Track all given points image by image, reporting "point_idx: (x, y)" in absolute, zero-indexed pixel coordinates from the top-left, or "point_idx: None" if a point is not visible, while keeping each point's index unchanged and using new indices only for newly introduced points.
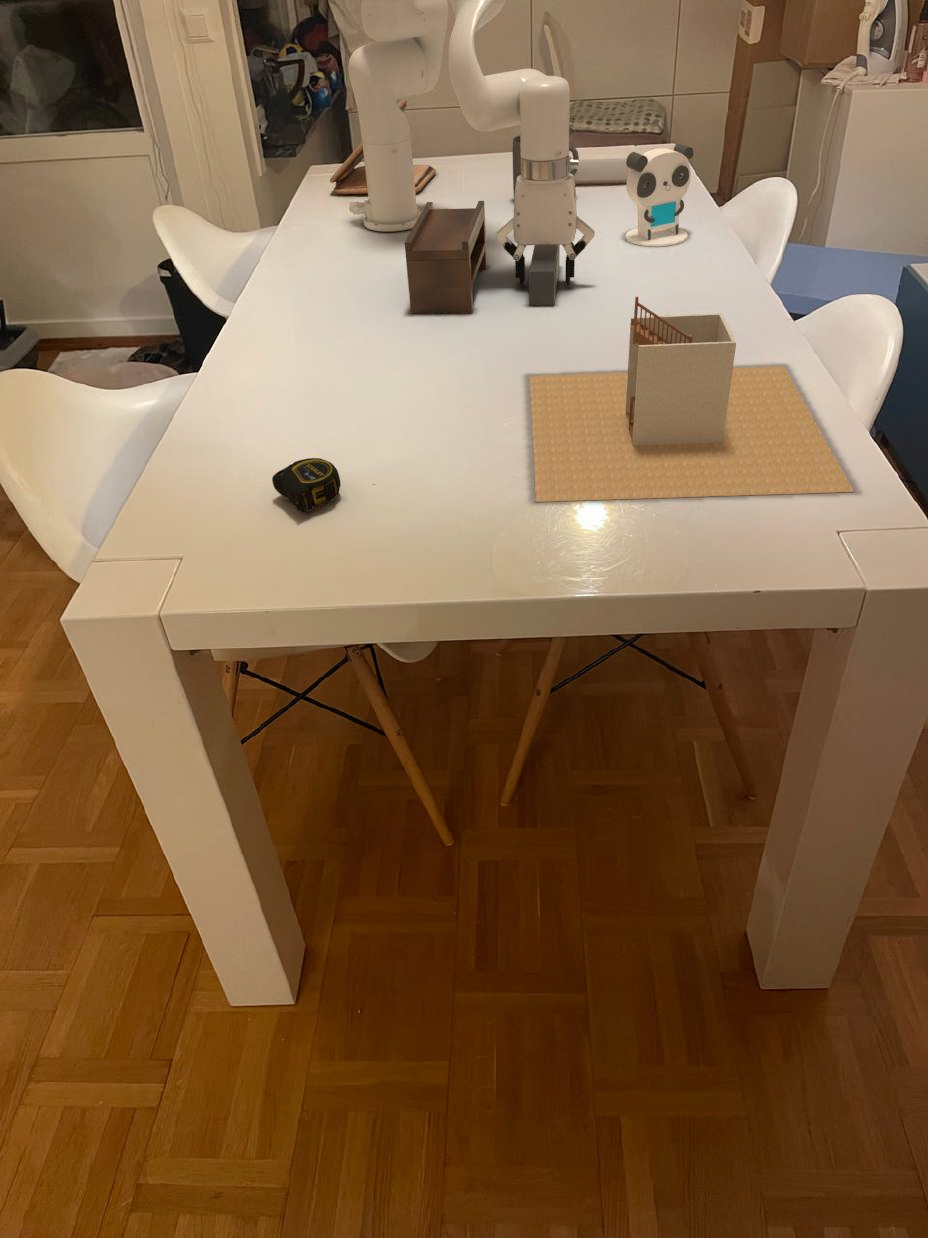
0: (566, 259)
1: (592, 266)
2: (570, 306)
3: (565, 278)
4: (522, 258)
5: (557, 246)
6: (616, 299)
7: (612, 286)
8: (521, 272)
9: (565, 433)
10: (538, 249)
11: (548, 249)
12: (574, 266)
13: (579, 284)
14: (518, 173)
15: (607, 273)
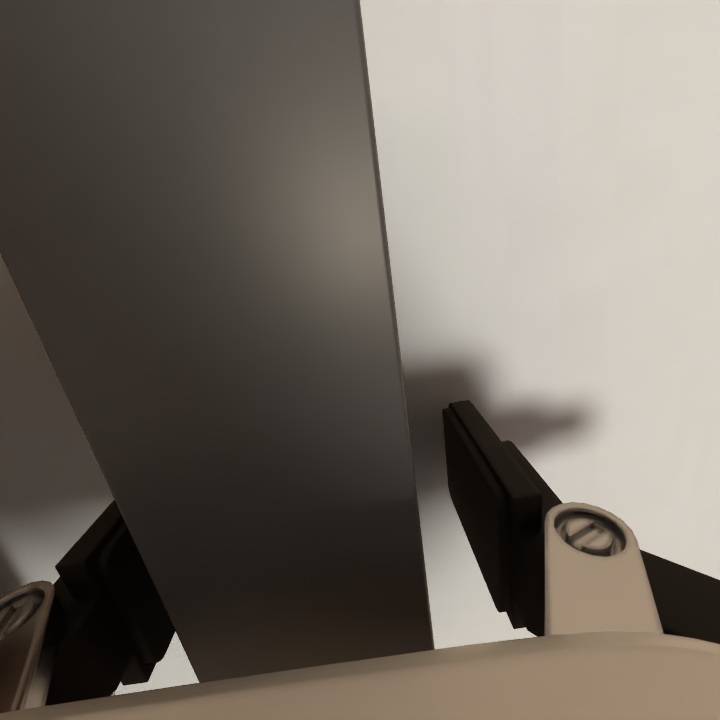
0: (504, 585)
1: (598, 41)
2: (485, 634)
3: (458, 515)
4: (126, 656)
5: (408, 472)
6: (680, 552)
7: (686, 413)
8: None
9: None
10: (209, 579)
11: (322, 567)
12: (531, 469)
13: (511, 407)
14: None
15: (690, 200)
